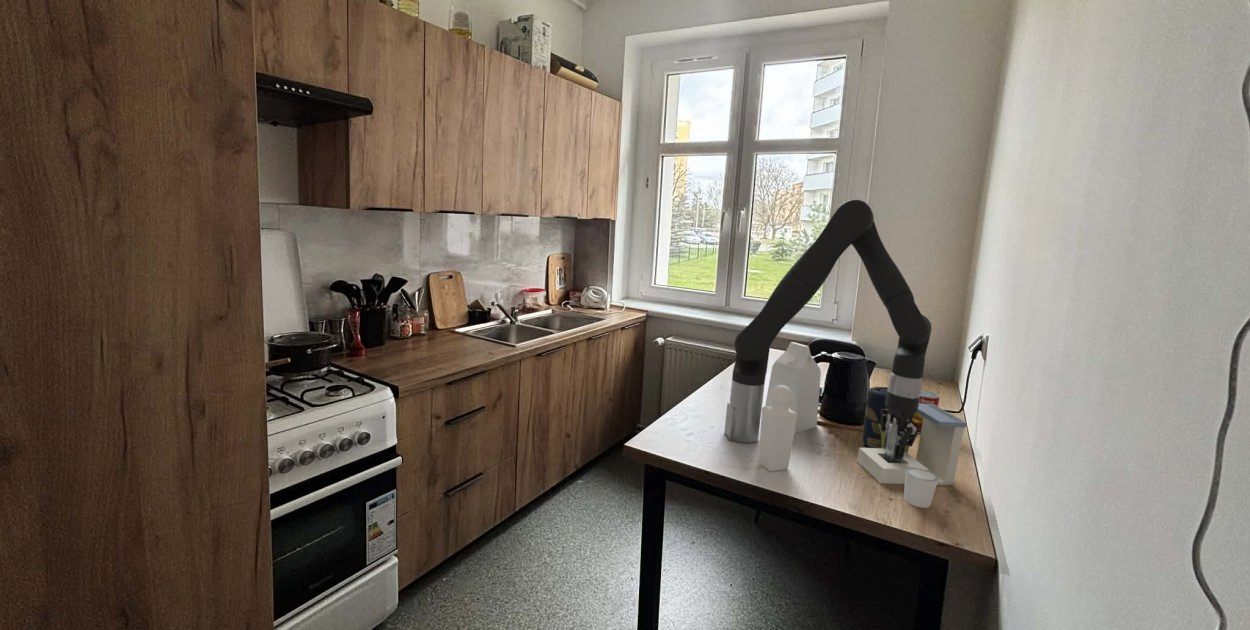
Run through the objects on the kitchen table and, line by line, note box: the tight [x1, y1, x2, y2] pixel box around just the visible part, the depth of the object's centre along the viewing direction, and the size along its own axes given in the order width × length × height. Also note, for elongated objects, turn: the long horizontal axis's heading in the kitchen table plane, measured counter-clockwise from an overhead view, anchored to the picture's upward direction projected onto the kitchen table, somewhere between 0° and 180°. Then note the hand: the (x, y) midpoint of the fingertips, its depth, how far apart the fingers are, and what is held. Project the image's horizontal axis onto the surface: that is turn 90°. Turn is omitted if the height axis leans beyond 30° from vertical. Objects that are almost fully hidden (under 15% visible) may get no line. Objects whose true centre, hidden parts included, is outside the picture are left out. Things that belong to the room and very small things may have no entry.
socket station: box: [856, 404, 967, 486], centre depth 138 cm, size 19×13×17 cm
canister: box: [861, 386, 888, 448], centre depth 154 cm, size 10×10×18 cm
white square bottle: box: [757, 385, 797, 472], centre depth 137 cm, size 6×6×22 cm
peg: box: [884, 422, 905, 463], centre depth 138 cm, size 4×4×12 cm
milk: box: [764, 341, 822, 434], centre depth 167 cm, size 12×12×26 cm
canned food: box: [912, 389, 940, 434], centre depth 171 cm, size 8×8×12 cm
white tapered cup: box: [903, 468, 938, 509], centre depth 125 cm, size 7×7×7 cm
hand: (893, 454), depth 139 cm, fingers closed on peg, 4 cm apart
